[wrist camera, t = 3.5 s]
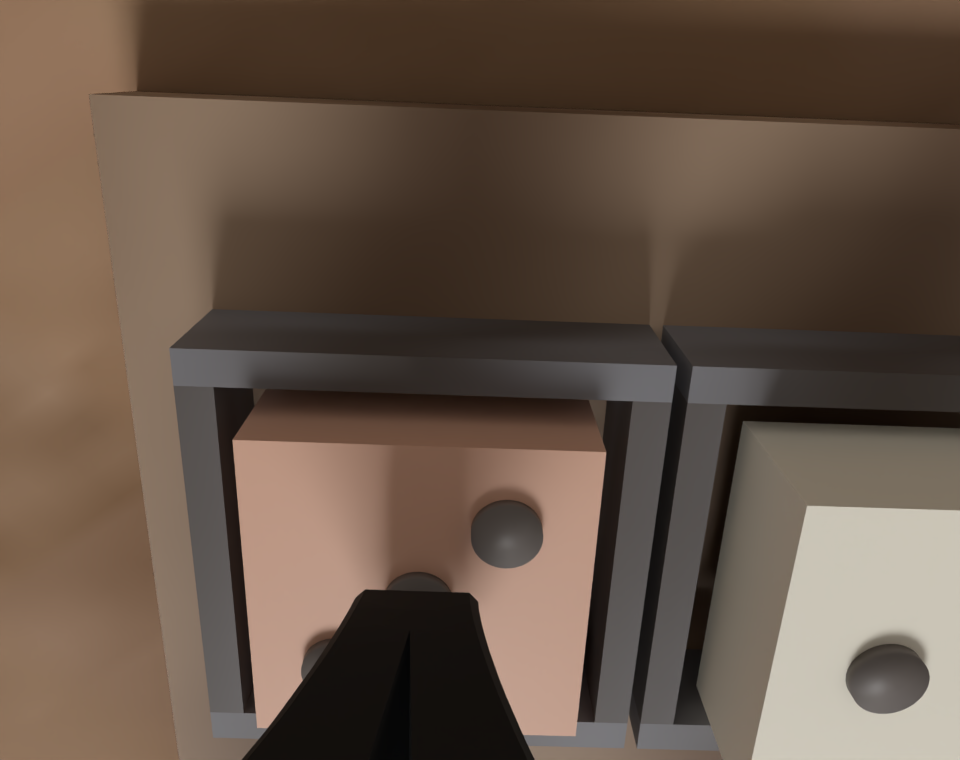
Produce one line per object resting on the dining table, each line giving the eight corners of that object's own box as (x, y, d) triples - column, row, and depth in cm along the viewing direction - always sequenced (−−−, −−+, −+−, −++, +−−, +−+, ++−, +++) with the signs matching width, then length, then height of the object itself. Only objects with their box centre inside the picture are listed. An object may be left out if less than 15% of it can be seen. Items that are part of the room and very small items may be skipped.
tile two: (1074, 431, 11) (1229, 526, 8) (982, 693, 12) (1093, 828, 10) (742, 421, 11) (813, 513, 8) (696, 685, 12) (744, 820, 10)
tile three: (583, 384, 12) (608, 458, 9) (559, 633, 13) (576, 745, 11) (275, 373, 11) (228, 446, 9) (291, 625, 13) (254, 736, 11)
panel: (1587, 150, 12) (1953, 176, 9) (1268, 746, 16) (1443, 896, 13) (135, 90, 12) (17, 98, 9) (207, 718, 16) (145, 866, 13)
